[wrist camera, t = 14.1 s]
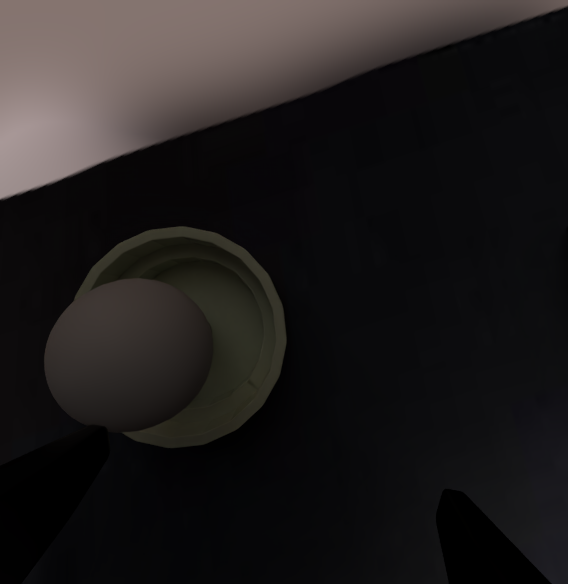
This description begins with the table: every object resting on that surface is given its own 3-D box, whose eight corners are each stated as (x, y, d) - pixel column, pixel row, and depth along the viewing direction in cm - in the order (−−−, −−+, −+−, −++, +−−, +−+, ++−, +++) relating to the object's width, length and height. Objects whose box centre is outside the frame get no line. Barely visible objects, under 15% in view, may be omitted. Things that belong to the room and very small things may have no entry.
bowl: (193, 452, 20) (166, 494, 16) (80, 323, 21) (23, 328, 16) (321, 334, 21) (331, 343, 16) (207, 208, 21) (185, 183, 17)
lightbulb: (199, 270, 20) (95, 230, 9) (259, 334, 20) (225, 372, 9) (135, 330, 20) (-47, 363, 9) (194, 396, 20) (80, 509, 9)
